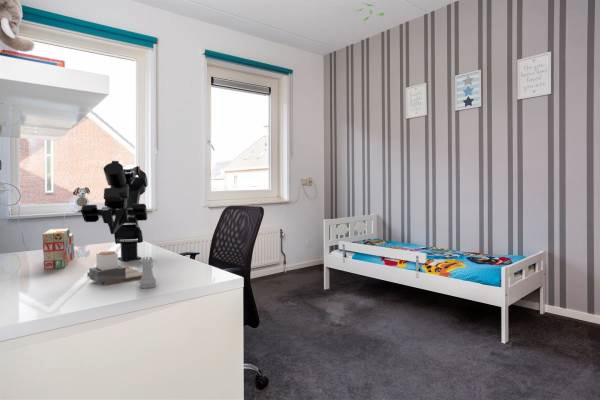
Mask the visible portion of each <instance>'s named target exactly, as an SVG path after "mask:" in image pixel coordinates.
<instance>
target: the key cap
mask: <svg viewBox="0 0 600 400" xmlns="http://www.w3.org/2000/svg"><path fill="white" fill-rule="evenodd" d="M95 257H96V262H95V263H96V267H97V269H100V270H109V269H115V268H118V265H119V259H118V257H119V255H118V253H117V252H115V251H113V250H112V251H111V250H109V251H101V252H98V253H96V256H95Z"/></svg>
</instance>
